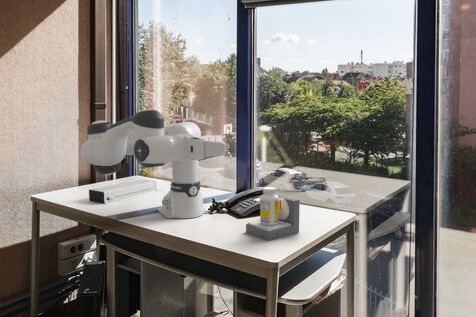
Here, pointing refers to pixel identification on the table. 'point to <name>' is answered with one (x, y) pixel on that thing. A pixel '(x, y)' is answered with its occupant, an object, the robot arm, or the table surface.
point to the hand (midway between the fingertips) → (220, 145)
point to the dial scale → (286, 221)
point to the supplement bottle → (269, 207)
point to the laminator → (121, 191)
